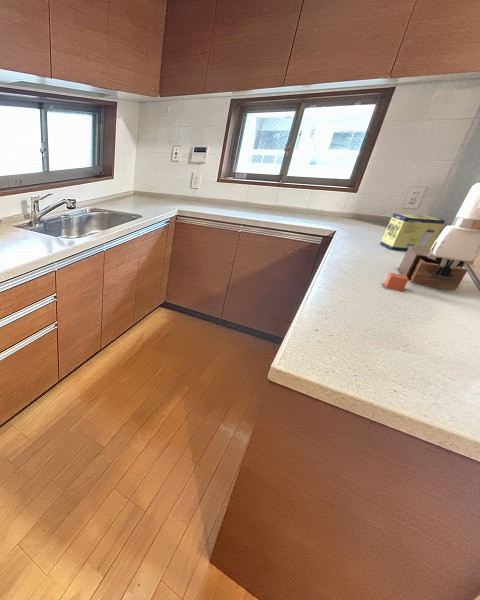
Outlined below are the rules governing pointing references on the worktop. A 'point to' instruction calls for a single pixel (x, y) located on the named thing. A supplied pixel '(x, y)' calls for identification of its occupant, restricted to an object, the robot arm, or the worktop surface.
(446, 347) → the worktop surface
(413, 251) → the cabinet
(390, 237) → the protein box
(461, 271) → the drawer
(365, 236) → the worktop surface
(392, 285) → the block
